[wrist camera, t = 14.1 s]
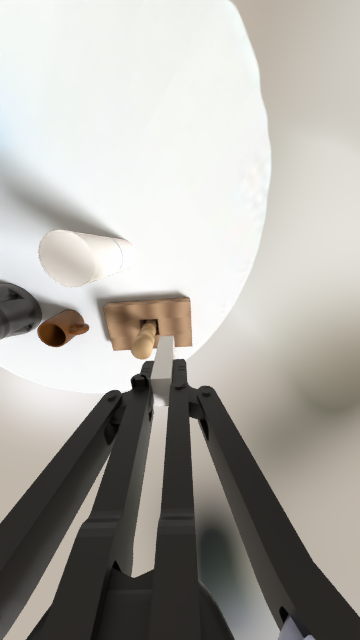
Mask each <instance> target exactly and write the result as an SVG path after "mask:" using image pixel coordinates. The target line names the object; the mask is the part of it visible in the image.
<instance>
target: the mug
mask: <svg viewBox="0 0 360 640" xmlns="http://www.w3.org/2000/svg"><path fill="white" fill-rule="evenodd" d="M88 330H89V326H88V325H87V324H84V320H83V318H82V316H81V315H80V314H79V313H77V312H75V311H72V310H66V311H63V312H61V313H59V314H57V315H55V316H54V317H52V318H50V319H48V320H46V321H45V322H43V323H42V324H41V325H40V326H39V327H38V331H37V332H38V336H39V338H40V339H41V341H42V342H44V343H45V344H46V345H48V346H51V347H60V346H63V345H64V344H66V343H67V342H69V341H70V340H71V339H72V338H73V337H74V336H76V335H80V334H83V333H85V332H87V331H88Z"/></svg>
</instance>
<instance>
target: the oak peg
mask: <svg viewBox="0 0 360 640" xmlns="http://www.w3.org/2000/svg"><path fill="white" fill-rule="evenodd" d="M156 326H157V320H156V319H147V320H146V323H145V324H144V325H143V327H142V329H141V331H140V332H139V333H138V335H137V337H136V339H135V341H134V343H133V345H132V347H131V353H132V354H133V356H134V357H136V358H138V359H146V358H148V357H149V356H150V355H151V353H152V349H153V345H154V341H155V333H156Z"/></svg>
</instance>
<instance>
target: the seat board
mask: <svg viewBox="0 0 360 640" xmlns="http://www.w3.org/2000/svg"><path fill="white" fill-rule="evenodd" d="M103 310H104V314H105V318H106V322H107V326H108V330H109V334H110V338H111V342H112V346H113V350H114V351H117V350H131V347H132V345H133V343H134V341H135V339H136V337H137V335H138V333H139V332H140V331H141V329H142V327H143V325H144V323H143V320H146V319H158V325H159V329H156V333H155V341H154V345H153V348H157V347H158V343H159V338H160V336H174V345H175V347H186V346H192V330H191V306H190V298H178V299H162V300H146V301H131V302H115V303H108V304H106V305H105V306H104V307H103Z"/></svg>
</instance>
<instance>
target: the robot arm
mask: <svg viewBox="0 0 360 640" xmlns="http://www.w3.org/2000/svg"><path fill="white" fill-rule="evenodd" d="M40 322H41V310H40V307H39V305H38V303H37V301H36V300H35V299H34V297H33V296H32V295H31V294H30V293H28V292H27V291H26V290H24V289H22V288H21V287H18V286H16V285H13V284H7V283H3V284H0V340H1V339H3V338H5V337H10V336H16V335H21V334H25V333H28V332H30V331H32V330H33V329H35V328H36V327H37V326H38V325H39V324H40ZM131 384H132V390H130V391H128V392H125V393H122V394H121V392H120V391H118V390H112V391H109V392H108V393H106V394H105V395H104V396H103V397H102V399H101V400H100V401H99V402H98V404H97V405H96V406H95V407H94V408H93V410H92V411H91V412H90V413H89V415H88V416H87V417H86V418H85V420H84V421H83V422H82V423H81V424H80V426H79V427H78V428H77V430H76V431H75V432H74V433H73V435H72V436H71V437H70V438H69V439H68V441H67V442H66V443H65V444H64V446H63V447H62V448H61V449H60V451H59V452H58V453H57V454H56V456H55V457H54V458H53V459H52V460H51V462H50V463H49V464H48V465H47V467H46V468H45V469H44V470H43V471H42V473H41V474H40V475H39V477H38V478H37V479H36V480H35V481H34V483H33V484H32V485H31V486H30V488H29V489H28V490H27V491H26V493H25V494H24V495H23V496H22V498H21V499H20V500H19V501H18V502H17V504H16V505H15V506H14V507H13V509H12V510H11V511H10V512H9V514H8V515H7V516H6V518H4V520H3V521H2V522H1V523H0V640H3V638H4V637H5V635H6V634H7V632H8V631H9V630H10V628H11V627H12V625H13V624H14V622H15V620H16V619H17V617H18V616H19V614H20V613H21V611H22V610H23V608H24V606H25V605H26V603H27V601H28V600H29V598H30V596H31V594H32V593H33V591H34V589H35V588H36V586H37V585H38V583H39V581H40V579H41V577H42V576H43V574H44V572H45V570H46V568H47V566H48V565H49V563H50V561H51V559H52V557H53V556H54V554H55V552H56V550H57V548H58V547H59V545H60V543H61V541H62V539H63V538H64V536H65V534H66V532H67V530H68V529H69V527H70V525H71V523H72V521H73V519H74V518H75V516H76V514H77V512H78V510H79V509H80V507H81V505H82V503H83V501H84V500H85V498H86V496H87V494H88V492H89V491H90V489H91V487H92V485H93V483H94V482H95V480H96V477H97V476H98V474H99V472H100V471H101V469H102V467H103V465H104V463H105V462H106V460H107V458H108V456H109V454H110V453H111V454H110V457H109V460H108V463H107V466H106V469H105V472H104V475H103V478H102V481H101V484H100V487H99V490H98V493H97V496H96V499H95V502H94V505H93V508H92V511H91V513H90V516H89V518H88V519H87V520H86V521H85V522H84V523H83V524H82V525H81V527H80V529H79V531H78V534H77V536H76V539H75V541H74V544H73V547H72V550H71V553H70V555H69V558H68V561H67V564H66V566H65V569H64V572H63V575H62V578H61V580H60V583H59V586H58V589H57V592H56V594H55V597H54V600H53V603H52V605H51V606H50V607H49V609H48V610H47V611H46V613H45V614H44V615H43V617H42V618H41V620H40V621H39V622H38V624H37V625H36V626H35V628H34V629H33V631H32V632H31V633H30V635H29V636H28V638H27V639H26V640H234V637H233V635H232V633H231V631H230V629H229V627H228V625H227V623H226V621H225V618H224V617H223V614H222V612H221V610H220V608H219V606H218V604H217V602H216V601H215V599H214V598H213V596H212V594H211V593H210V592H209V590H208V589H207V588H206V587H205V586H204V584H203V583H202V582H201V581H200V580H198V573H197V555H196V554H197V553H196V535H195V518H194V499H193V480H192V461H191V442H190V424H189V417H192V418H195V419H198V422H199V425H200V427H201V430H202V433H203V436H204V438H205V441H206V444H207V446H208V449H209V452H210V454H211V457H212V460H213V463H214V465H215V468H216V471H217V473H218V476H219V479H220V481H221V484H222V486H223V489H224V492H225V495H226V497H227V500H228V503H229V505H230V508H231V511H232V514H233V516H234V519H235V522H236V524H237V527H238V530H239V532H240V535H241V538H242V541H243V543H244V546H245V549H246V551H247V554H248V557H249V559H250V562H251V564H252V567H253V570H254V573H255V575H256V578H257V581H258V583H259V585H260V588H261V591H262V593H263V595H264V598H265V600H266V603H267V604H268V607H269V609H270V611H271V613H272V615H273V617H274V619H275V621H276V623H277V626H278V628H279V629H280V634H279V638H278V640H360V617H359V616H358V615H357V613H356V612H355V611H354V610H353V609H352V607H351V606H350V605H349V604H348V603H347V601H346V600H345V599H344V598H343V597H342V595H341V594H340V593H339V592H338V591H337V589H336V588H335V587H334V586H333V585H332V583H331V582H330V581H329V580H328V579H327V578H326V576H325V575H324V574H323V573H322V571H321V570H320V569H319V568H318V567H317V565H316V564H315V563H314V562H313V561H312V559H311V557H310V555H309V553H308V552H307V550H306V548H305V547H304V545H303V543H302V542H301V540H300V538H299V536H298V534H297V533H296V531H295V529H294V528H293V526H292V524H291V522H290V520H289V519H288V517H287V515H286V513H285V512H284V510H283V508H282V506H281V505H280V503H279V501H278V499H277V498H276V496H275V494H274V493H273V491H272V489H271V488H270V486H269V484H268V482H267V480H266V479H265V477H264V475H263V473H262V472H261V470H260V468H259V466H258V465H257V463H256V461H255V459H254V458H253V456H252V454H251V452H250V451H249V449H248V447H247V446H246V444H245V442H244V440H243V439H242V437H241V435H240V433H239V432H238V430H237V428H236V427H235V425H234V423H233V421H232V419H231V418H230V416H229V414H228V413H227V411H226V409H225V407H224V405H223V404H222V402H221V400H220V398H219V397H218V395H217V393H216V391H215V390H214V389H213V388H212V387H210V386H202V387H200V388H199V389H195V388H192V387H190V386H189V385H188V383H187V371H186V362H185V360H184V359H175V345H174V336H160V338H159V343H158V347H157V352H156V356H155V361H146V362H145V363H144V364H143V366H142V369H141V373H140V374H137V375H135V376H133V377H132V378H131ZM153 404H154V406H169V407H168V420H167V434H166V448H165V461H164V475H163V488H162V503H161V514H160V518H159V522H158V530H157V541H156V553H155V565H154V569H153V570H151V571H149V572H147V573H145V574H142V575H140V576H138V577H136V578H132V577H131V573H132V565H133V543H134V536H135V529H136V523H137V517H138V509H139V504H140V497H141V491H142V484H143V477H144V472H145V465H146V458H147V452H148V446H149V439H150V433H151V426H152V420H153V414H154V411H153Z"/></svg>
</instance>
